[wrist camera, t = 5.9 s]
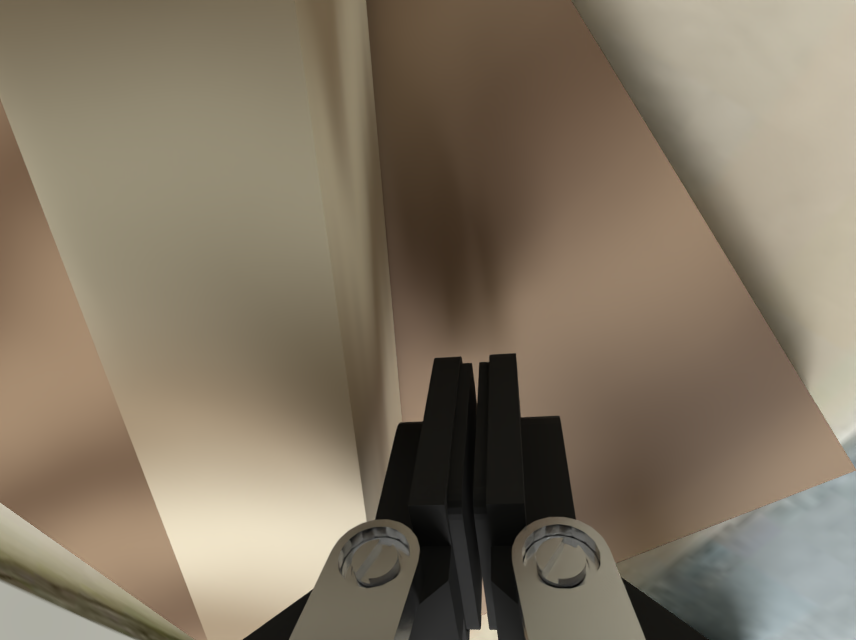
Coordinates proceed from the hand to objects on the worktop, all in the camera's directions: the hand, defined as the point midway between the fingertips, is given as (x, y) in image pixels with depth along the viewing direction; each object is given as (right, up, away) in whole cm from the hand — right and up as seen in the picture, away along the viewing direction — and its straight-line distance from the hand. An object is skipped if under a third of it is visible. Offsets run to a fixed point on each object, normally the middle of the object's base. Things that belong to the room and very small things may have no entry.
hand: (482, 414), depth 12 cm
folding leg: (-4, +3, +1) cm, 5 cm away
